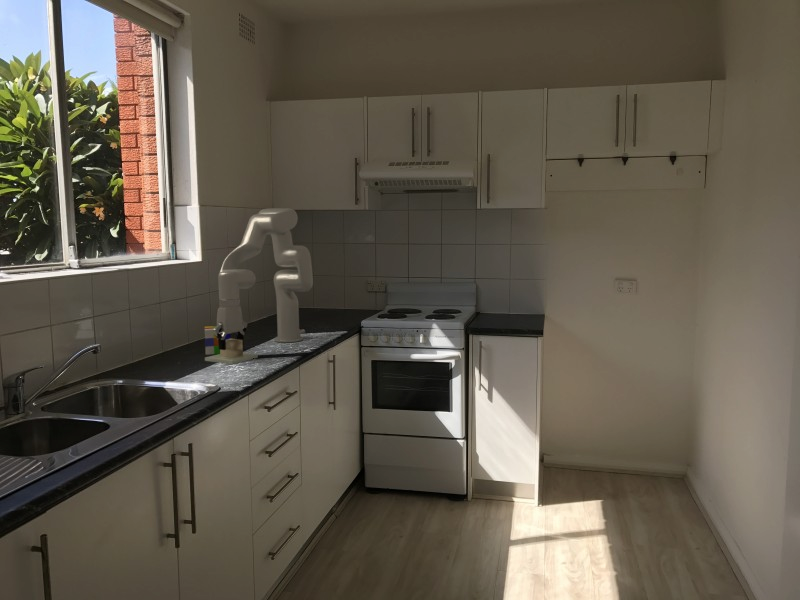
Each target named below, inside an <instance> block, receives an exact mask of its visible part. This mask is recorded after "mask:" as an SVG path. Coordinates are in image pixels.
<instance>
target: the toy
mask: <svg viewBox="0 0 800 600" xmlns="http://www.w3.org/2000/svg"><path fill="white" fill-rule="evenodd" d="M216 326H217V325H215V326H214V325H212V326H211V325H210V326H204V346H205V347H204V349H205V355H207V356H208V355H218V354H220V350H219V344H218V339H217V337H216V336H215V334H214V332H213V329H214V328H215V327H216ZM222 335H223V334H222ZM222 335H221V336H222ZM231 337H232V336H231V333H230V334H226V336H225V338H224V339H225V340H227V339H232V338H231Z"/></svg>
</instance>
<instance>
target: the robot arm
mask: <svg viewBox="0 0 800 600" xmlns="http://www.w3.org/2000/svg"><path fill="white" fill-rule="evenodd" d="M298 220H299V218H298V214H297V212H296V210H295V209H292V208H290V207H288V208H287V207H285V208H281V207H280V208H279V207H277V208H275V207H274V208H273V207H272V208H263V209H261V210H259V212H258V213H255V214H253V215H252V216H250V218H249V220H248V223H247V225H246V228H245V230H244V234H243V237H242V240H241V241H240V244H239V245H238V246H237V247H235V248H234V249H233V250H232V251H230V253H229V254H228V255H227V256H226V257H225V258H224V260H223V262H222V265H221V268H220V271H219V273H218V276H217V277H218V279H217V280H218V281H217V282H218V283H217V284H218V301H219V303H218V305H219V307H217V308H218V309H217V314H216V325H215V326H216V327H215V328H214V329H213V332H214V334H215V336H216V337H217V339H218V344H219V350H226V340H225V339H224V338H225V336H226V334H230V335H231V334H234V333H236V336H235V337H236V339H239V340H242V342H243V346H244V345H245V342H244V340H245V339H244V336H245V333H246V331H247V327H248V322H246V321H244V320H243V319H244V317H243V314H242V313H243V311H242V307H241V304H240V303H241V299H240V289H241V290H242V289H245V290H247V289H250V288H253V286H254V285H255V283H256V278H257V277H256V274H255V273H254V272H253V271H252V270H250V269H242V268H241V269H239V268H238V269H237V267H238V266H239V265H240V264H241V263H243V262H245V261H247V260H250V259H252V258H254V257H256V256H257V255H260V253H261V252H262V249H263V247H264V243H265V240H266V238H267V236H268V235H270V237H271V239H272V247H273V257H274V262H275V264H276V265H277V266H278V267H279V268H280V267H281V268H296V269H280V270H278V271H276V272H275V274H274V275H273V276H274V277H273V285H274V289H275V290H274V291H275V296H276V297H275V298H276V323H277V324H276V326H277V336H276V337H274V342H276V343H297V342H301V341H303V339H304V337H303V336H301V335H303V334H305V333H306V330H305V329H300V315H299V311H300V310H299V300H298V296H297V295H296V293H295V292H301V293H303V292H304V293H306V292H309V291H310V290H311V289H312V288H313V285H314V279H313V278H314V276H313V275H314V274H313V267H312V266H313V265H312V258H311V252H310V250H309V248H308V247H306V246H304V245H294V243H293V238H292V237H293V236H292V232H291V230H292V229H294V228H295V227H296V226H297V223H298ZM222 334H223V335H222ZM221 335H222V336H221Z"/></svg>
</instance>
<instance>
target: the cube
mask: <svg viewBox="0 0 800 600" xmlns="http://www.w3.org/2000/svg"><path fill="white" fill-rule="evenodd" d="M243 346H244V345H243V342H242V340H239V339H235V338H231V339H227V340H226V350H220V356H221V357H229V358H233V357H237V356H241V355H243V353H244V350H243Z"/></svg>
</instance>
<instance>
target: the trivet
mask: <svg viewBox="0 0 800 600" xmlns="http://www.w3.org/2000/svg"><path fill="white" fill-rule="evenodd" d="M258 355H259V354H258V353H257V354H256V353H248V352H247V353H246V352H243V355H241V356H237V357H233V358H229V357H221V356H220V354H213V355H211V356H206V357H204V361H205V362H213V363H221V364H228V365H235V364H237V363H242V362H246V361H250V360H253V358H254V359H257V358H258V357H259V356H258Z"/></svg>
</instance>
